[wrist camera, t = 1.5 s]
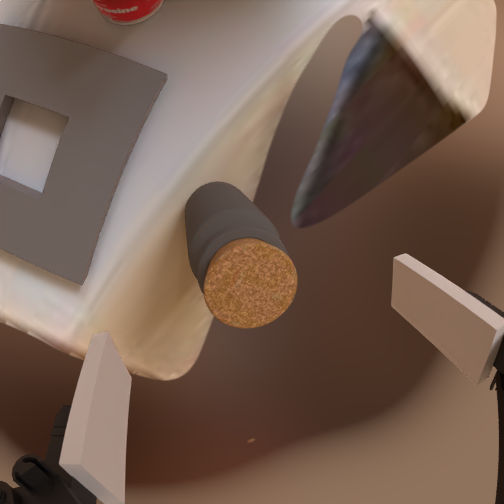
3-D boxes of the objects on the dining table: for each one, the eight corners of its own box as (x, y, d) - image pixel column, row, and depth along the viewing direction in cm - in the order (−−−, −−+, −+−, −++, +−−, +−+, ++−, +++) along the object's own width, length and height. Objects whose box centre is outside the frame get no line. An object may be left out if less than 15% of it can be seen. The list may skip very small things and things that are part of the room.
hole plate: (-56, 208, 21) (-66, 212, 20) (1, 26, 17) (-8, 22, 15) (86, 276, 28) (81, 285, 27) (167, 78, 24) (166, 74, 22)
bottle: (219, 254, 31) (253, 354, 17) (171, 216, 28) (167, 298, 15) (260, 209, 30) (330, 279, 16) (214, 167, 28) (251, 205, 14)
